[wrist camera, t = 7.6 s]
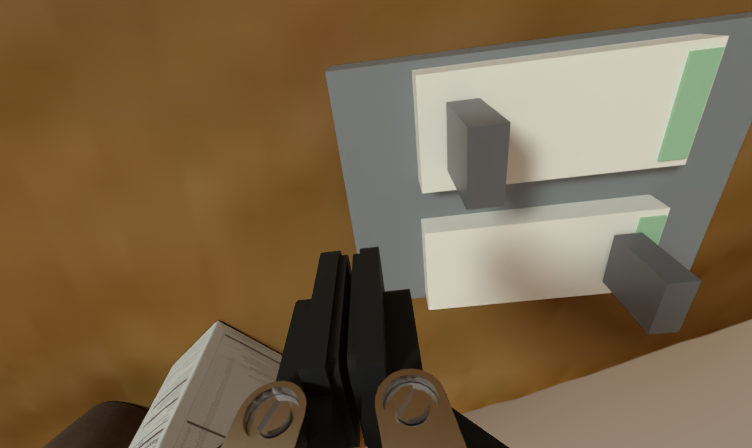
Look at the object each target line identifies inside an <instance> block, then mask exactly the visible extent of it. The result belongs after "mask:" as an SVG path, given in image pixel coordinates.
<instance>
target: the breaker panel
mask: <svg viewBox="0 0 752 448" xmlns="http://www.w3.org/2000/svg"><path fill="white" fill-rule="evenodd" d="M325 74H326V80H327V85H328V91H329V97H330V102H331V108H332V114H333V119H334V125H335V131H336V136H337V142H338V148H339V153H340V159H341V165H342V170H343V176H344V182H345V187H346V193H347V199H348V204H349V210H350V216H351V222H352V227H353V233H354V239H355V244H356V250H357V254H360V249H361V248H370V247H379V251H380V259H381V266H382V273H383V281H384V288H385V291H394V290H404V289H410V293H411V298H422V297H426V298H427V303H428V308H429V310H434V309H445V308H455V307H466V306H477V305H487V304H498V303H508V302H519V301H530V300H540V299H551V298H562V297H572V296H583V295H593V294H604V293H612V292H611V291H610V290H609V289H608V287H607V286H606V285H605V284H604V283H603V282H602V281H603V277H604V273H605V269H606V266H607V262H608V258H609V254H610V250H611V247H612V243H613V239H614V235H621V234H631V233H641V232H642V233H644V234H645V235H646V236H647V237H648V238H650V239H651V240H652V241H653V242H655V243H656V244H657V245H658V246H660V247H661V248H662V249H663V250H664V251H666V252H667V253H668V254H669V255H671V256H672V257H673V258H674V259H676V260H677V261H678V262H679V263H680V264H682V265H683V266H684V267H685V268H687V269H688V270H689V271H690V269H691V266H692V264H693V261H694V259H695V257H696V254H697V252H698V249H699V247H700V244H701V242H702V240H703V237H704V235H705V232H706V230H707V228H708V225H709V223H710V220H711V218H712V215H713V213H714V211H715V208H716V206H717V203H718V201H719V199H720V196H721V194H722V191H723V189H724V186H725V184H726V182H727V179H728V177H729V174H730V172H731V170H732V167H733V165H734V162H735V160H736V157H737V155H738V153H739V150H740V148H741V145H742V143H743V141H744V138H745V136H746V133H747V131H748V129H749V126H750V124H751V121H752V12H745V13H737V14H730V15H722V16H714V17H707V18H699V19H691V20H683V21H676V22H668V23H660V24H652V25H645V26H637V27H629V28H622V29H614V30H606V31H598V32H591V33H583V34H575V35H567V36H560V37H552V38H544V39H537V40H529V41H521V42H513V43H506V44H498V45H490V46H483V47H475V48H467V49H459V50H452V51H444V52H436V53H428V54H421V55H413V56H405V57H398V58H390V59H382V60H374V61H367V62H359V63H351V64H344V65H336V66H329V68H328V69H327V70H326V71H325ZM475 98H480V99H482V100H483V101H484V102H485V103H487V104H488V105H489V106H490V107H492V108H493V109H494V110H495V111H497V112H498V113H499V114H501V115H502V116H503V117H504V118H506V119H507V120H508V121H509V122H511V124H510V137H509V151H508V164H507V178H506V192H505V205H504V206H501V207H492V208H482V209H473V210H466V208H465V206H464V204H463V202H462V200H461V198H460V196H459V194H458V191H457V189H456V187H455V185H454V183H453V181H452V179H451V177H450V175H449V173H448V171H447V115H446V102H451V101H459V100H467V99H475Z"/></svg>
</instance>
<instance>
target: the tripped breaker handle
mask: <svg viewBox="0 0 752 448" xmlns="http://www.w3.org/2000/svg"><path fill="white" fill-rule="evenodd" d="M446 115H447V171H448V173H449V175H450V177H451V179H452V181H453V183H454V185H455V187H456V189H457V191H458V194H459V196H460V198H461V200H462V202H463V204H464V206H465V208H466V210H473V209H482V208H492V207H501V206H504V205H505V192H506V178H507V164H508V151H509V137H510V124H511V122H509V121H508V120H507V119H506V118H504V117H503V116H502V115H501V114H499V113H498V112H497V111H495V110H494V109H493V108H492V107H490V106H489V105H488V104H487V103H485V102H484V101H483V100H482V99H480V98H475V99H467V100H459V101H451V102H446Z"/></svg>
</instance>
